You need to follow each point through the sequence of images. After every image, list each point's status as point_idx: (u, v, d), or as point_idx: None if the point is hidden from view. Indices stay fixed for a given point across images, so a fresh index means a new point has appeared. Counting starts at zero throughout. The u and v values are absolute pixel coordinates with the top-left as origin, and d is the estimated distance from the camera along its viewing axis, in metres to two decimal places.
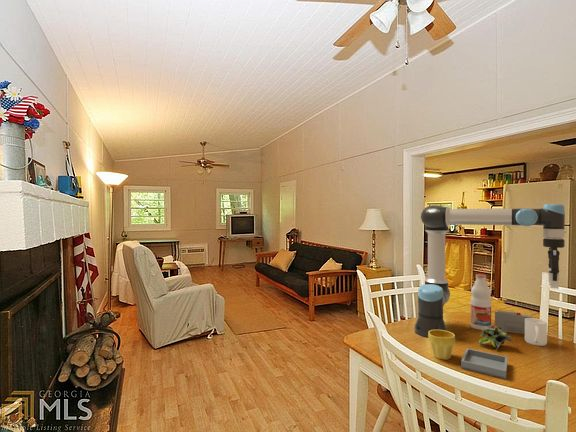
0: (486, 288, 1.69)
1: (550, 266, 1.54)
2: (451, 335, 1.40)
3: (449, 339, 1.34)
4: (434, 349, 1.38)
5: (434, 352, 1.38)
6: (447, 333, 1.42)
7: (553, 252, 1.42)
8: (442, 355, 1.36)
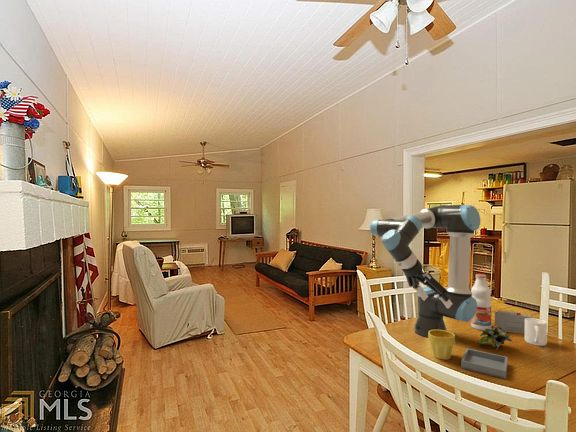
0: (486, 288, 1.69)
1: None
2: (451, 335, 1.40)
3: (449, 338, 1.34)
4: (434, 349, 1.38)
5: (434, 352, 1.38)
6: (447, 333, 1.42)
7: None
8: (442, 355, 1.36)
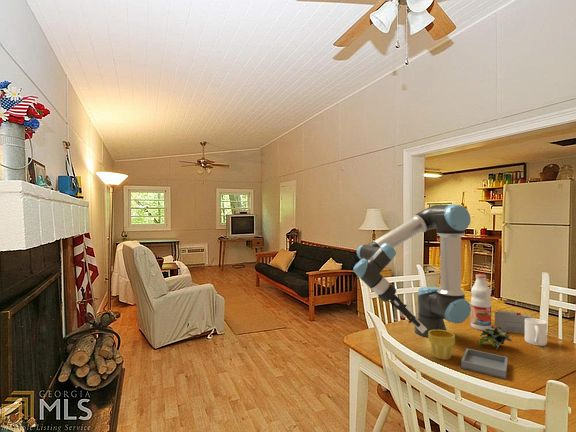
0: (486, 288, 1.69)
1: None
2: (451, 335, 1.40)
3: (449, 338, 1.34)
4: (434, 349, 1.38)
5: (434, 352, 1.38)
6: (447, 333, 1.42)
7: None
8: (442, 355, 1.36)
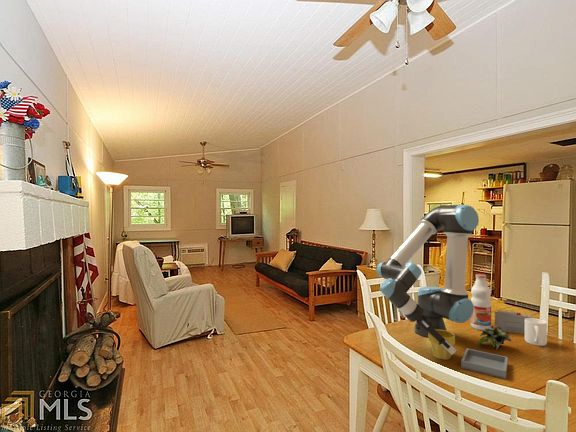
0: (486, 288, 1.69)
1: None
2: (451, 335, 1.40)
3: (449, 338, 1.34)
4: (434, 349, 1.38)
5: (434, 352, 1.38)
6: (447, 333, 1.42)
7: None
8: (442, 355, 1.36)
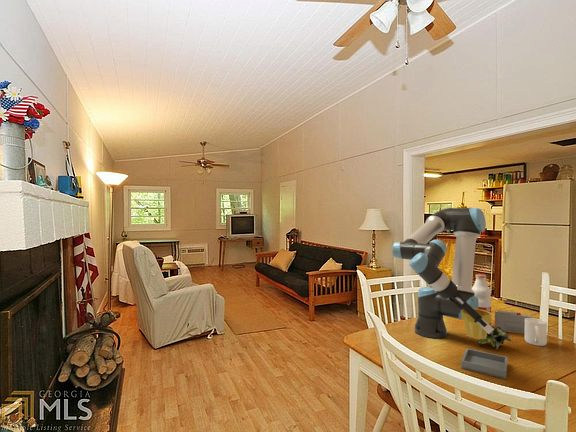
0: (486, 288, 1.69)
1: None
2: (486, 314, 1.31)
3: (485, 316, 1.25)
4: (468, 328, 1.29)
5: (468, 331, 1.29)
6: (482, 312, 1.33)
7: None
8: (478, 334, 1.27)
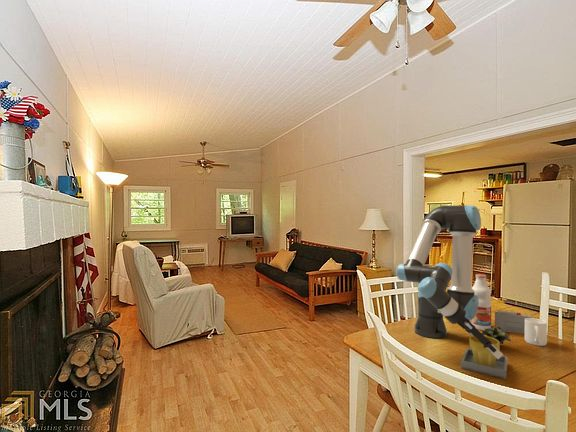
0: (486, 288, 1.69)
1: None
2: (494, 341, 1.31)
3: (494, 345, 1.25)
4: (477, 356, 1.28)
5: (477, 360, 1.29)
6: (489, 339, 1.33)
7: None
8: (487, 363, 1.26)
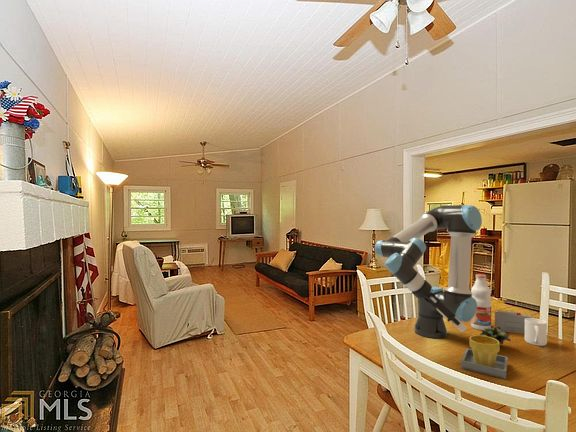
0: (486, 288, 1.69)
1: None
2: (494, 341, 1.31)
3: (494, 345, 1.25)
4: (477, 356, 1.28)
5: (477, 360, 1.29)
6: (489, 339, 1.33)
7: None
8: (487, 363, 1.26)
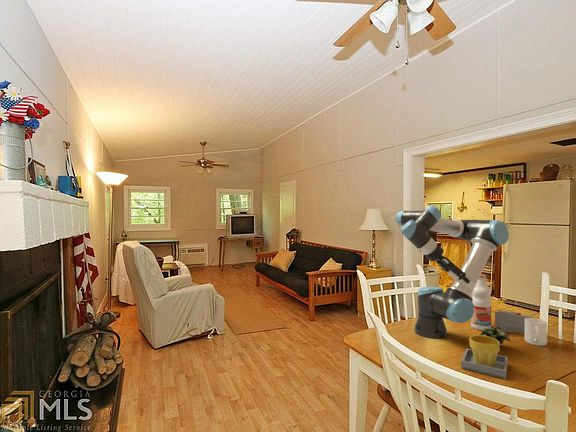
0: (486, 288, 1.69)
1: None
2: (494, 341, 1.31)
3: (494, 345, 1.25)
4: (477, 356, 1.28)
5: (477, 360, 1.29)
6: (489, 339, 1.33)
7: None
8: (487, 363, 1.26)
